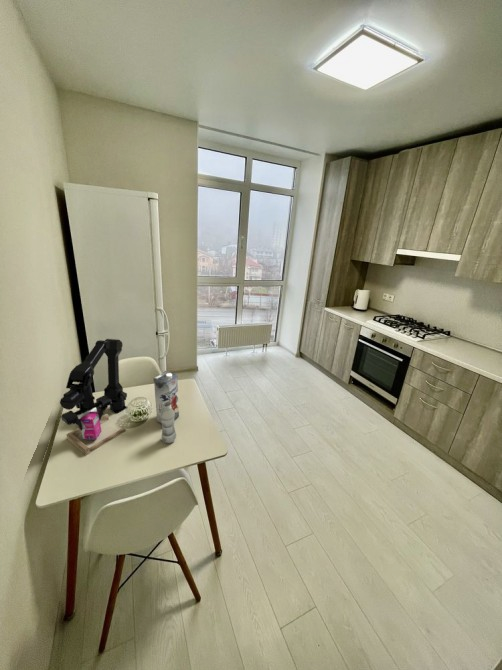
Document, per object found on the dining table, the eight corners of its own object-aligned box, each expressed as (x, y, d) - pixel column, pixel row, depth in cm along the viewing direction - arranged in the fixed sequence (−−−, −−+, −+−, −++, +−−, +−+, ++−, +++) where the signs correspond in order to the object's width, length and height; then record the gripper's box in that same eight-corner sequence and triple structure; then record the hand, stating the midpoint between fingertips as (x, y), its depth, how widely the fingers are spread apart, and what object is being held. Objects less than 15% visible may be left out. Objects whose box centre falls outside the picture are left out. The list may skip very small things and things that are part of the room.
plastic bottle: (179, 437, 125) (177, 401, 118) (170, 447, 119) (168, 410, 112) (167, 433, 127) (165, 398, 120) (158, 443, 121) (155, 406, 114)
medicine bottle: (101, 419, 134) (97, 399, 130) (87, 427, 128) (83, 406, 124) (91, 414, 137) (88, 394, 133) (78, 422, 131) (74, 402, 127)
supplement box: (82, 440, 118) (78, 419, 114) (89, 431, 124) (85, 410, 120) (96, 440, 119) (92, 419, 115) (102, 431, 124) (98, 410, 120)
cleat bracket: (107, 418, 135) (106, 413, 134) (126, 431, 127) (125, 426, 126) (67, 439, 120) (66, 434, 119) (86, 455, 112) (85, 449, 111)
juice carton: (154, 422, 134) (150, 376, 125) (167, 411, 143) (165, 367, 134) (168, 428, 131) (165, 380, 122) (181, 416, 140) (179, 370, 131)
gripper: (96, 380, 125) (101, 408, 131) (51, 398, 110) (58, 428, 116) (109, 388, 120) (114, 416, 125) (64, 408, 105) (71, 439, 110)
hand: (90, 424), depth 119 cm, fingers closed on supplement box, 8 cm apart
